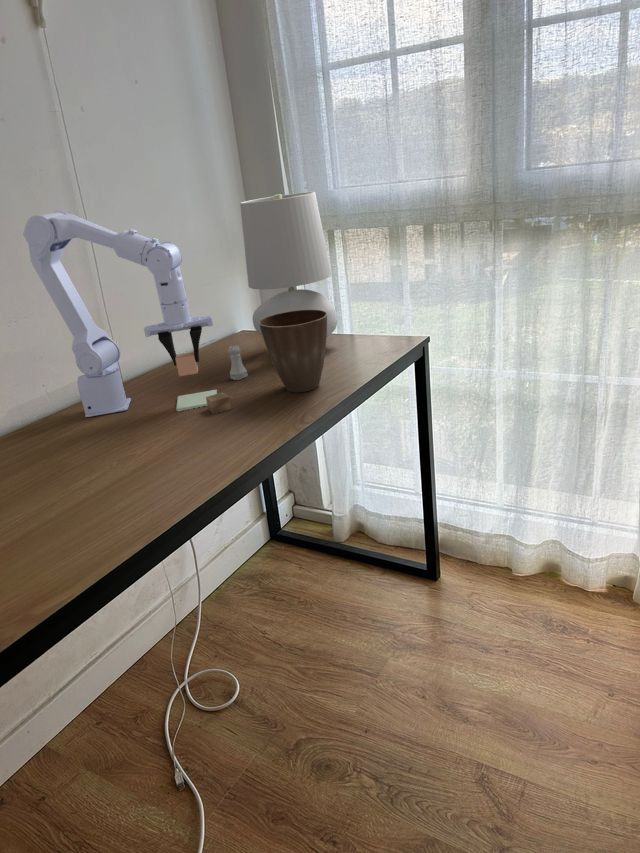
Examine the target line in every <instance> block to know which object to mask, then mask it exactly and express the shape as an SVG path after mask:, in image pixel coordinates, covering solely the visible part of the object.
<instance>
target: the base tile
mask: <svg viewBox="0 0 640 853" xmlns="http://www.w3.org/2000/svg"><path fill="white" fill-rule="evenodd" d="M215 394H218V389H211V390H206V391H200V392H195V393H190V394H189V393H188V394H183V395H178V396H177V402H176V410H175V411H176V412H177V411H178V412H182V411H183V410H184V411H188V409H189V410H193V408H195V409H199V408H198V407H200V408H204V407H203V406H206V407H208V406H207V401H206V397H208V396H211V395H215Z"/></svg>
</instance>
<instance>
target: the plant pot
mask: <svg viewBox="0 0 640 853" xmlns="http://www.w3.org/2000/svg"><path fill="white" fill-rule="evenodd" d="M259 325H260V329H261V332H262V335H263V337H262V338H263V341H264V344H265V346H266V349H267V351H268V355H269V358H270V360H271V362H272V364H273V366H274V369H275V371H276V373H277V375H278V377H279V379H280V380H281V382H282V384H283V386H284V387H285V390H286V391H287V392H290V393H305V392H310V391H312V390H315V389H317V388H318V387H319V386H320V382H321V378H322V373H323V369H324V364H325V356H326V348H327V338H328V337H327V312H325V311H322V310H296V311H289V312H283V313H279V314H275V315H271V316H268V317H266V318H264V319H262V320H260V321H259Z"/></svg>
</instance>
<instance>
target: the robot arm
mask: <svg viewBox="0 0 640 853" xmlns="http://www.w3.org/2000/svg"><path fill="white" fill-rule="evenodd" d="M23 237H24V239H25V241H26V242H27V244H28V250H29V256H30V257H29V258H30V262H31V265H32V267H33V268H34V270H35V272H36V273H37V275H38V277H39V278H40V280H41V283H42V284H43V285H44V287H45V289H46V291H47V293H48V294H49V297H50V298H51V300H52V302H53V304H54V305H55V307H56V308H57V310H58V312H59V313H60V316H61V318H62V319H63V321H64V323H65V325H66V326H67V328H68V329H69V332H70V333H71V335H72V336H73V338H72V344H71V350H72V352H73V354H74V356H75V363H76V366H77V368H78V370H79V371H80V372H81V373H82V375H78V377H77V389H78V393H79V396H80V400H81V404H82V406H83V412H84V414H85V415H84V416H85V418H90V417H95V416H96V417H97V416H102V415H107V414H114V413H118V412H124V411H128V409H129V406H130V405H131V401H132V398H131V397H127V396H126V392H125V387H124V384H123V380H122V377H121V372H120V368H119V363H118V361H119V360H120V357H121V349H120V346H119V345H118V344H117V342H116V341H114V340H113V339H112V338H111V337H110V336H109V335H108V332H107V331H106V330H104V329H102V328H101V327H98V326H97V324H96V323H95V321H94V319H93V318H92V317H93V316H92V315H91V314H90V312H89V310H88V309H87V306H86V305H85V303H84V301H83V300H82V298H81V296H80V294H79V293H78V290H77V289H76V287H75V285H74V283H73V281H72V279H71V278H70V276H69V275H68V273H67V271H66V269H65V267H64V265H63V263H62V261H61V260H62V257H63V254H64V251H65V248H67V247H68V245H69V244H70V243H71V241H72V240H73V239H80V240H84V241H87V242H90V243H94V244H97V245H99V246H100V245H101V246H103V247H107V248H110V249H113V251H114V252H115V254H116V256H117V257H118V258H122V259H124V260H126V261H130V262H132V263H135V264H138V265H141V266H143V267H145V268H147V269H148V270H149V272H150V273H152V275H153V278H154V283H155V287H156V292H157V296H158V300H159V306H160V309H161V314H162V318H163V322H160V323H155V324H151V325H146V326H145V325H144V327H143V331H144V335H145V338H148V337H151V336H156V335H157V336H158V341H159V343H160V344H161V345H162V346H163V347H164V348H165V350H166V352H167V353H168V355H169V356H170V358H171V360H172V364H173V365H174V367H177V364H176V360H175V358H176V354H177V353H176V350H175V346H174V345H175V344H174V341H173V334H172V333H174V332H180V331H187V330H189V336H190V341H191V344H192V347H193V348H192V349H193V351H194V356H195V361H196V362H197V363H198V362H200V357H199V349H200V340H201V336H202V333H203V332H202V329H203V328H205V327H213V326H214V321H213V317H212V315H207V316H198V317H191V313H190V312H191V311H190V306H189V304H188V303H189V302H188V297H187V293H186V289H185V285H184V279H183V275H182V270H181V264H182V262H183V254H182V251H181V249H180V248H179V246H178V245H176V244H175V243H172V242H171V241H169V240H166V241H163V242H161V243H160V242H159V239H158V238H157V237H153V238H150V237H146V236H145V235H141V234H138V230H136V229H134V228H131V229H129V230H127V229H124V230H122V231H121V232H119V233H118V232H116V231H114V230H111V229H109V228H106V227H105V226H101V225H100V224H96V223H95V222H94V223H93V222H92V221H90V220H87V219H85V218H82V217H80V216H78V215H76V214H73V213H67V212H66V211H63V210H58V211H57V210H56V211H54V212H50V213H45V214H35V215H33V216H30V217H29V218H28V220H27V221H26V224H25V227H24V230H23Z"/></svg>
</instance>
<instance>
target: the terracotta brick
mask: <svg viewBox="0 0 640 853" xmlns="http://www.w3.org/2000/svg"><path fill="white" fill-rule="evenodd" d="M175 360H176V364H177V366H176V368H177V371H178V372H177V374H178V376H179V377H183V376H189V375H195V374H198V372H199V366H198V362H196V361H195V356H194V350H193V351H189V352H188V351H187V352H183V353H176V358H175Z"/></svg>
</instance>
